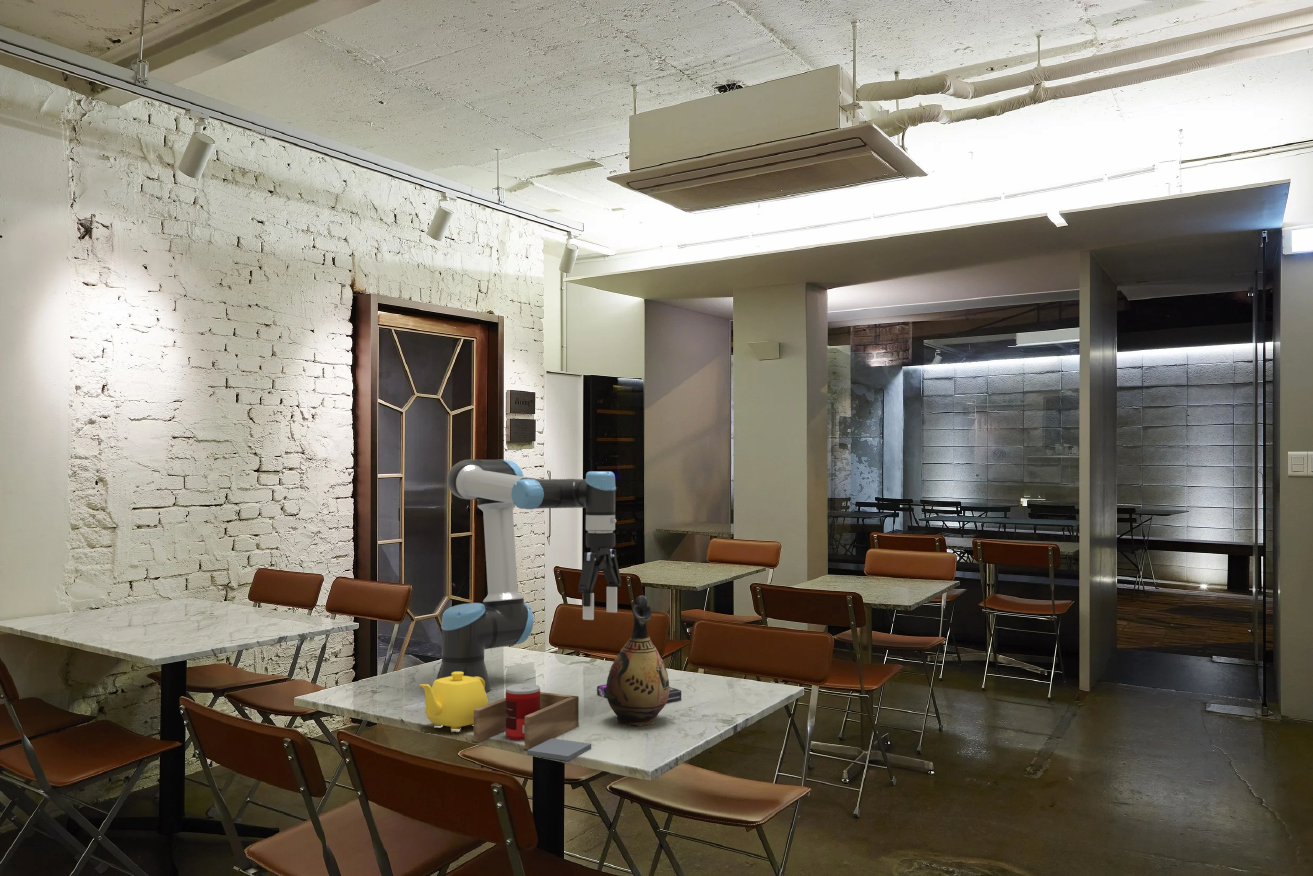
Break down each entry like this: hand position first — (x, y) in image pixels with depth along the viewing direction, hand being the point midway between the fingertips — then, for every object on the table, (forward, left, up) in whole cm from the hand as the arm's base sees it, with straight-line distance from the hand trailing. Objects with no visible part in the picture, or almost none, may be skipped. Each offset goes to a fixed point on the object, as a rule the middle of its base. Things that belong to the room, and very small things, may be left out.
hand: (600, 615), depth 233 cm
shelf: (-6, -25, -24) cm, 35 cm away
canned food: (-6, -27, -24) cm, 37 cm away
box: (+2, +17, -25) cm, 30 cm away
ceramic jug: (+12, -4, -24) cm, 27 cm away
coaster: (+8, -34, -24) cm, 42 cm away
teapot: (-25, -28, -24) cm, 44 cm away
